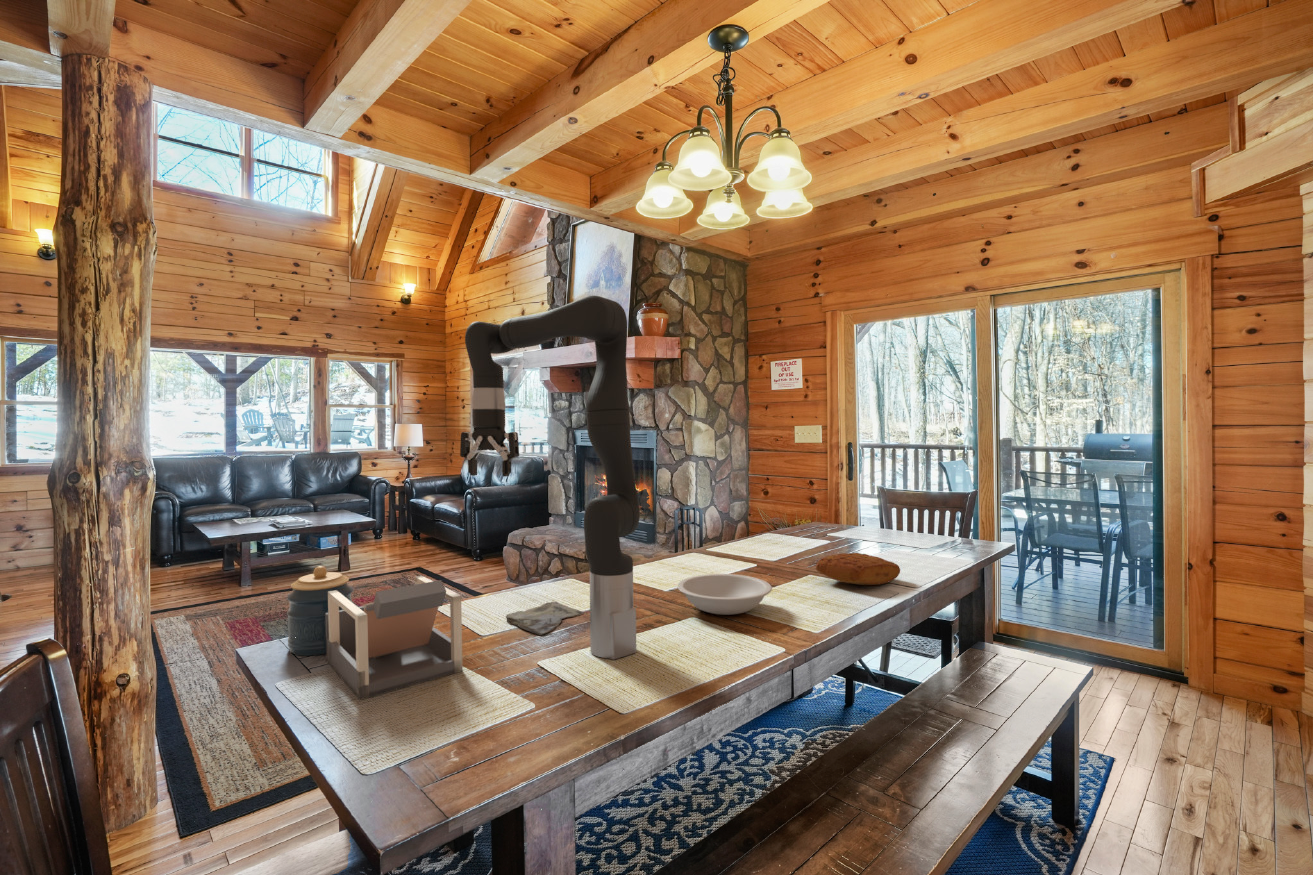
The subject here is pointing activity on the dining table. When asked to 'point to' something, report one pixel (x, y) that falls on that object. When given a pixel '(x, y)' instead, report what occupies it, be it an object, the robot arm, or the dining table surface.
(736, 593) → the soup bowl
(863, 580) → the bread loaf
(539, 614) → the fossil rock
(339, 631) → the frame
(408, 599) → the trapdoor
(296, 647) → the canister
